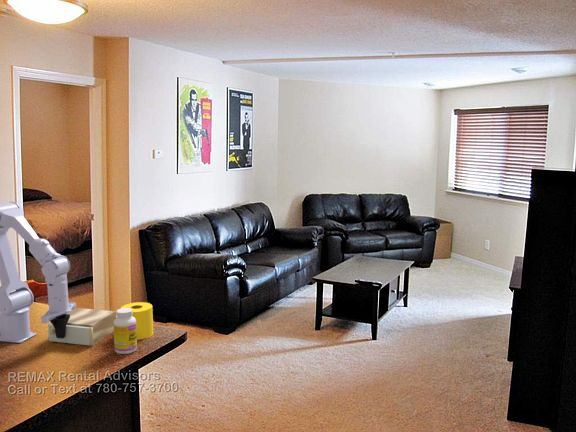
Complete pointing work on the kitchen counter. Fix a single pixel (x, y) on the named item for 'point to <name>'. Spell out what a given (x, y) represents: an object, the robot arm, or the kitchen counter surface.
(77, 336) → the door
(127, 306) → the yellow toilet paper roll
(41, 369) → the kitchen counter surface
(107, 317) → the cabinet
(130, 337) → the supplement bottle
